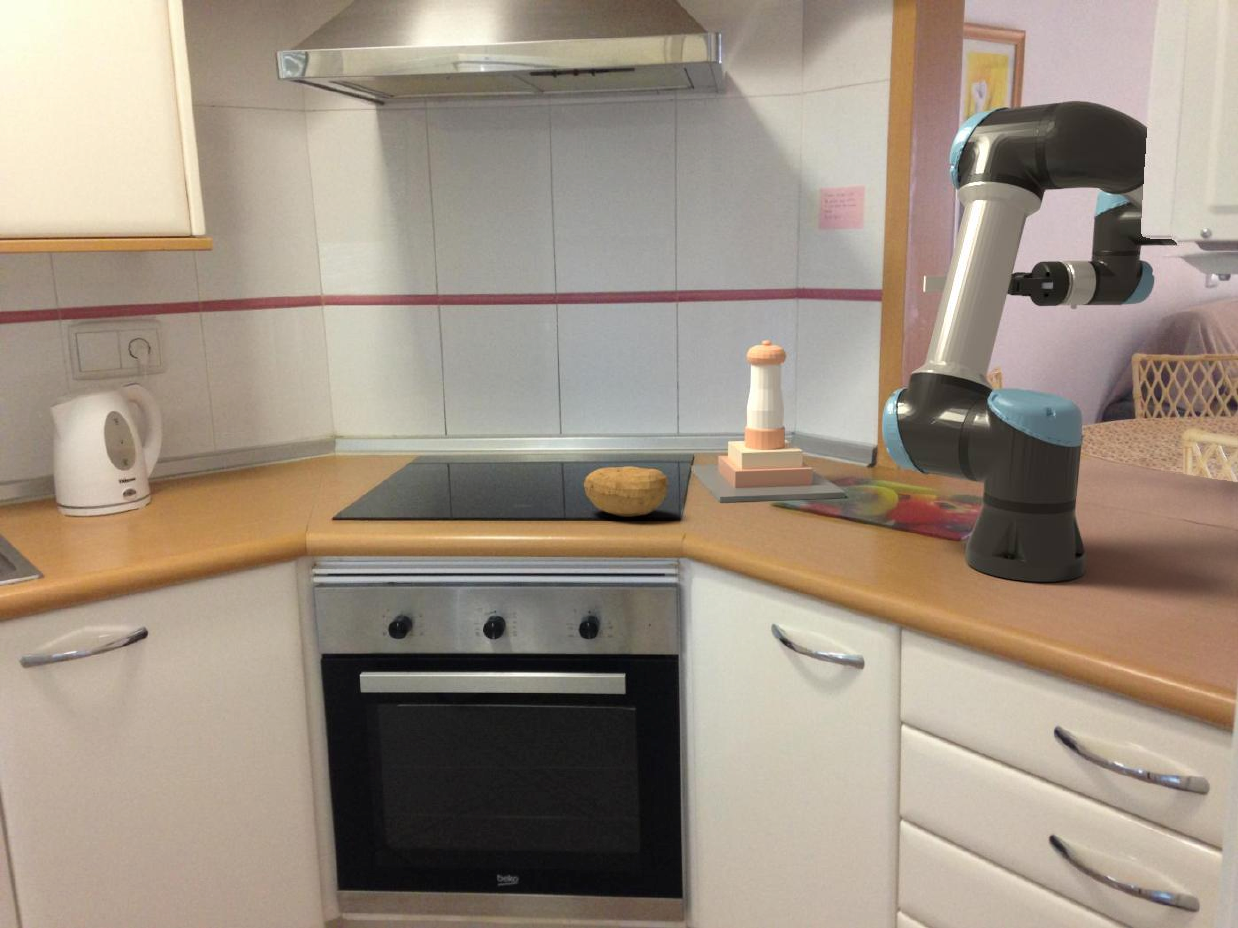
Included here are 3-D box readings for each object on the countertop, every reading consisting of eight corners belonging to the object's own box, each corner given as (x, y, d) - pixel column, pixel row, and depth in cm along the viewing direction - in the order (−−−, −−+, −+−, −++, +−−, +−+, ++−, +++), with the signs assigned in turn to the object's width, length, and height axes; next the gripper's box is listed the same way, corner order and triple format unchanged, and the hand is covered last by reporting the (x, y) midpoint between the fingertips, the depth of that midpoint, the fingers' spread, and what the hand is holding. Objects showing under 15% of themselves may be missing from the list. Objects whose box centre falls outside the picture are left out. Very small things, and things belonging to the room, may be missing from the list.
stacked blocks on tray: (845, 497, 180) (846, 458, 178) (720, 502, 177) (720, 462, 176) (801, 466, 205) (802, 432, 203) (691, 470, 202) (691, 435, 201)
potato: (596, 505, 176) (596, 459, 174) (675, 511, 171) (676, 464, 170) (574, 519, 167) (573, 470, 165) (657, 526, 162) (657, 476, 161)
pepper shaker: (787, 443, 192) (790, 339, 188) (781, 450, 185) (784, 342, 181) (748, 441, 194) (750, 338, 190) (741, 448, 187) (742, 342, 183)
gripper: (1099, 310, 166) (973, 312, 164) (1021, 302, 190) (910, 304, 188) (1103, 262, 165) (976, 263, 162) (1024, 260, 189) (912, 261, 186)
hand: (940, 285), depth 175 cm, fingers open, 13 cm apart
